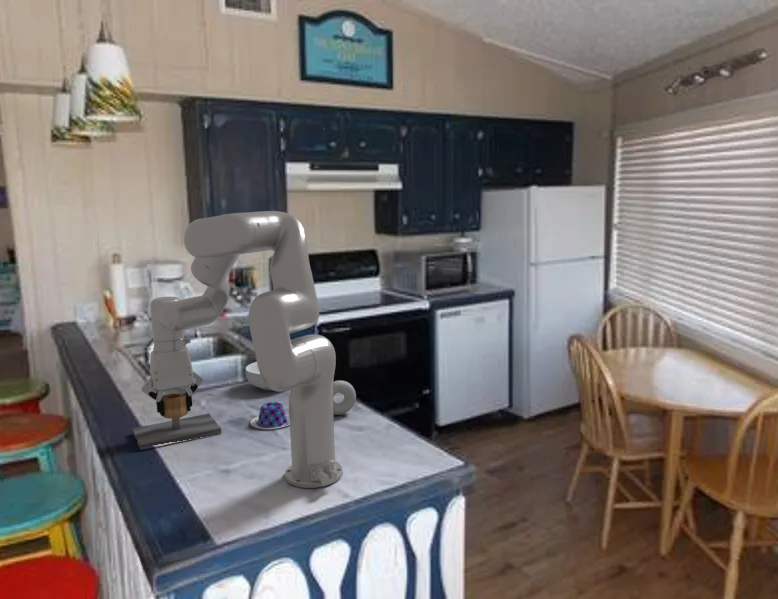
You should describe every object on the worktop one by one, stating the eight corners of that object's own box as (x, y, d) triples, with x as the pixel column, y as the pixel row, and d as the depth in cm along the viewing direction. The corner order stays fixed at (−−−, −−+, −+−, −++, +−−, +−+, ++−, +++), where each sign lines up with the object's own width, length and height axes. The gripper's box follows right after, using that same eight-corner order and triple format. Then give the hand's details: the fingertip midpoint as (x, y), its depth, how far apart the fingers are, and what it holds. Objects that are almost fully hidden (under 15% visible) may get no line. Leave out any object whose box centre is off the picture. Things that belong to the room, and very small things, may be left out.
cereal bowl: (246, 397, 189) (244, 375, 187) (247, 381, 205) (245, 361, 204) (301, 392, 192) (300, 370, 191) (298, 377, 208) (297, 357, 207)
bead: (189, 415, 159) (188, 397, 158) (165, 420, 156) (163, 401, 155) (184, 408, 164) (183, 390, 163) (161, 413, 161) (159, 394, 160)
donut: (323, 419, 169) (322, 384, 167) (320, 415, 172) (319, 381, 170) (358, 414, 172) (357, 380, 170) (354, 410, 175) (353, 376, 174)
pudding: (250, 417, 172) (249, 399, 171) (293, 413, 175) (292, 396, 174) (250, 433, 161) (249, 414, 160) (296, 429, 163) (295, 410, 162)
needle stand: (221, 433, 160) (219, 402, 159) (140, 451, 150) (137, 418, 149) (209, 418, 171) (207, 389, 170) (132, 433, 161) (129, 403, 160)
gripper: (200, 337, 164) (205, 401, 167) (131, 346, 156) (137, 414, 159) (207, 343, 158) (212, 410, 161) (135, 353, 149) (142, 423, 152)
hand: (175, 411), depth 160 cm, fingers closed on bead, 5 cm apart
